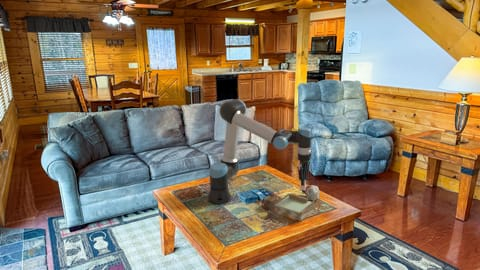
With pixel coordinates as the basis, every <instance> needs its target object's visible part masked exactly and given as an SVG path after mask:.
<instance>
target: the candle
mask: <svg viewBox="0 0 480 270" xmlns="http://www.w3.org/2000/svg"><path fill="white" fill-rule="evenodd" d="M301 193H303V194H304V195H305V196H306V198H308V201H311V202H313V201H316V200H319V198H320V189H319V187H318V186H317V185H314V184H311V185H306V190H301Z"/></svg>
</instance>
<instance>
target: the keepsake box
mask: <svg viewBox="0 0 480 270" xmlns="http://www.w3.org/2000/svg"><path fill="white" fill-rule="evenodd" d="M289 194H290V193H287V194H286V195H284V196H283V197H281V198H279V199H278V200H277V202H276V203H274V209H273V213H274V214H277V215H279V216H283V217H285V218H289V219H292V220H294V219H295V220H294V221H297V220H298V222H301V223H302V222H303V221H304V220H305V219H306V218H308V217H309V216H310V215H311V214H312V213H313V212H314V211H315V201H316V200H315V201H311V202H312V203H310V204H309V205H308V206H307V207H306V208H304V209H303V210H302V211H301V213H300V214H299V213H296V212H293V211H290V210H286V209H283V208H280V207H277V206H275V205H276V204H277V203H279V202H280V201H281V200H283V199H284V198H286V197H287V196H289Z"/></svg>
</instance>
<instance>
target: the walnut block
mask: <svg viewBox="0 0 480 270" xmlns="http://www.w3.org/2000/svg"><path fill="white" fill-rule="evenodd" d="M277 201H278V197H276V196H272V195H268V196H266V197H265V198H263V209H266V210H270V211H274V203H276V202H277Z"/></svg>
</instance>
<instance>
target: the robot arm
mask: <svg viewBox="0 0 480 270" xmlns="http://www.w3.org/2000/svg"><path fill="white" fill-rule="evenodd" d="M246 111H247V105H246V104H245V102H244V101H243V100H241V99H237V98H235V99H231V100H229V101H226V102H223V103H222V104H221V105H220V107H219V116H220V118H221V119H222V120H224V122H226V125H225V127H226V128H225V136H224V137H225V138H224V145H223V146H224V147H223V156H221V157H220V162H217V163H213V164H211V166H210V167H209V172H208V173H209V185H210V186H209V187H210V189H209V191H208V195H207V201H208V202H209V204H210V203H211V204H213V205H224V204H227V203H229V202H231V200H232V195H231V192H230V191H229V189H230V188H229V180H230V179H232V178H233V177H234V176H236V175H237V174H238V172H239V170H240V163H239V159H238V157H237V151H238V143H239V142H238V141H239V133H240V128H242V129H244V130H245V131H247V132H250V133H251V134H253V135H255V136H257V137H259V138H261V139H262V140H265V141H266V142H269V144H272V145H273V146H274V148H275V149H276V150H281V151H282V150H283V149H286V148H287V147H288V145H289V144H297V160H298V161H299V165H298V166H297V167H296V168H297V173H298V180H299V181H300V190H301V191H302V190H306V187H307V180H308V179H309V178H308V177H309V172H310V165H311V161H310V160H311V151H312V149H311V148H312V144H311V143H312V142H311V141H312V130H311V128H309V127H299V128H298V130H291V129H289V130H288V129H280V130H279V131H277V130H274V129H273V128H271V127H268V126H266V125H264V123H261V122H259V121H258V120H255V119H253V118H251V117H249V116H247V115H246Z"/></svg>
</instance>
